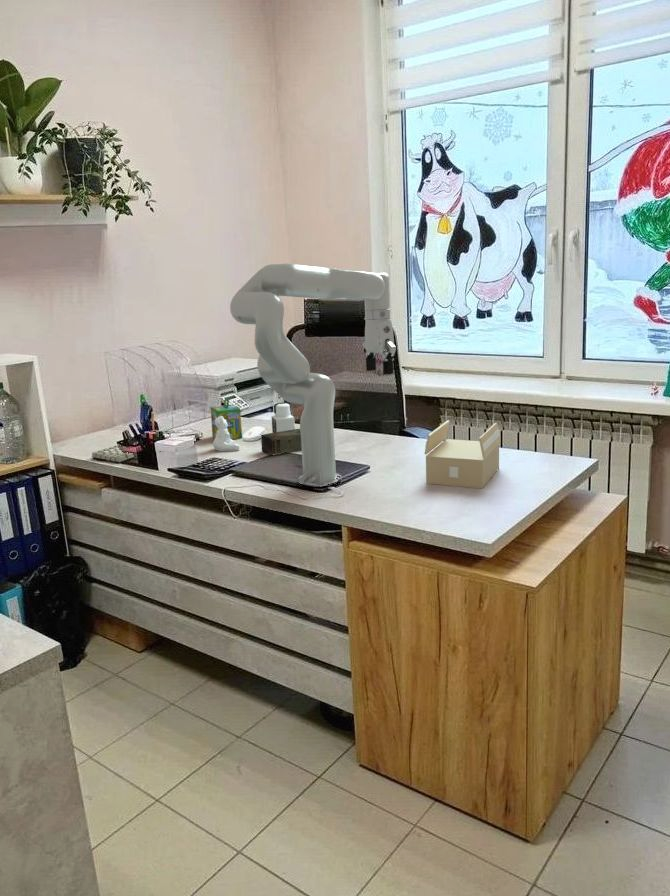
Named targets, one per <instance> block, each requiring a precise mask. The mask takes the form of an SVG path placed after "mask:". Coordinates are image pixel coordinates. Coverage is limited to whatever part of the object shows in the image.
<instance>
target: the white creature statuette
mask: <svg viewBox="0 0 670 896" xmlns="http://www.w3.org/2000/svg"><path fill="white" fill-rule="evenodd" d="M226 421H227V420H225V419H224V418H223V416H219V417H218V418H216V419H215V425H216V426H217V428H218V430H217V433H216V438H214V440H213V442H212V447H213V448H214V450H216V451H218V452H238V451H240V445H239V444H238V443H236V441H235V439H230V436H229V435H230V434H229V432H228V429H227V426H228V424H227V422H226Z"/></svg>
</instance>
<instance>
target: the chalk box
mask: <svg viewBox="0 0 670 896" xmlns="http://www.w3.org/2000/svg"><path fill="white" fill-rule="evenodd" d="M223 400H224V401H223V405H217V406H210V416H211V417H210V419H211V420H210V421H211V432H212V433H211V435H212V438H214V439H215V438H216V433H217V430H218V428H217V426H216V425H215V419H216V418H218V417H219V416H223V418H224V419H225V420H227V421H226V422H227V424H228V426H227V429H228V432H229V434H230V435H229V436H230V439H232V440H239V439H243V430H242V429H243V428H242V415H241V408H240V407H239V406H237V405H236V404H229V403H230V398H227V397H225V398H224V399H223Z"/></svg>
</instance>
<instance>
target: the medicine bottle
mask: <svg viewBox="0 0 670 896" xmlns="http://www.w3.org/2000/svg"><path fill="white" fill-rule="evenodd" d="M291 412H292V411H291V403H289V402H278V403H275V404H273V414H274V415H273V414H272V415H271V427H272V428H271V429H272V432H271V433H275V432H281V431H287V430H293V429H296V428H295V427H296V426H295V424H296V423H295V417H294V416H293V415H292V414H291Z"/></svg>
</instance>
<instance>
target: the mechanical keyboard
mask: <svg viewBox="0 0 670 896" xmlns="http://www.w3.org/2000/svg"><path fill="white" fill-rule="evenodd" d="M164 432H166V433H185V432H182V431H175V430H172V429H166V430H164ZM185 434H190V433H189V432H186V433H185ZM191 434H194V435H195V438H196V442H200V441H202V438H201V437H200V435H199V433H194V432H193V433H191ZM196 442H195V443H196ZM118 445H119V444H116V445H114V446H110V447H108V448H103V449H100V450H97V451H94V452H91V460H93V461H99V462H105V463H115V464H123V463H126V462H130V461H136V460H137V459H134V455H133V453H129V454H128V452H127V453H123V452H122V451H121V450H119V448H118Z"/></svg>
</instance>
